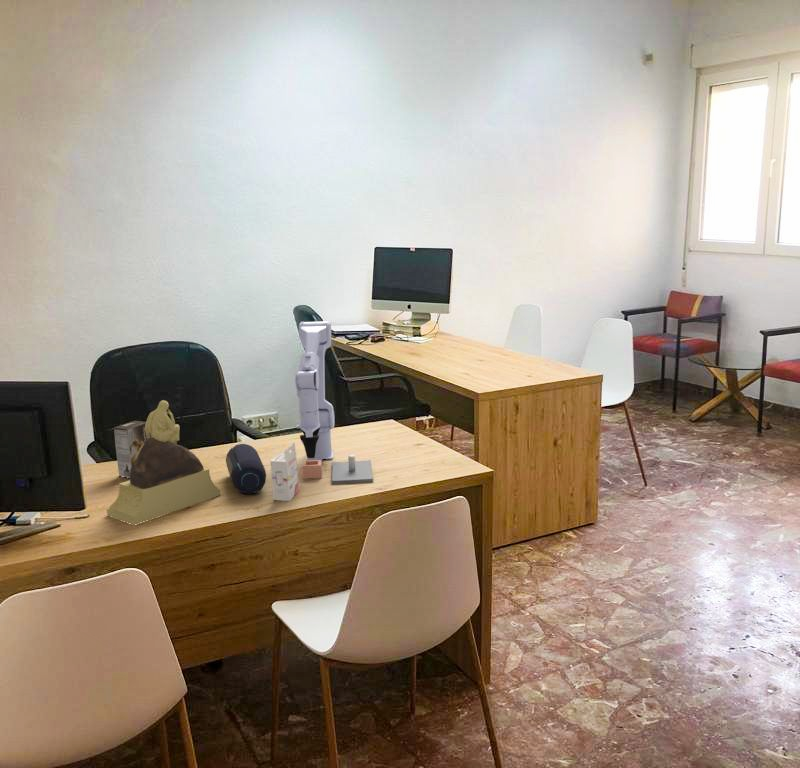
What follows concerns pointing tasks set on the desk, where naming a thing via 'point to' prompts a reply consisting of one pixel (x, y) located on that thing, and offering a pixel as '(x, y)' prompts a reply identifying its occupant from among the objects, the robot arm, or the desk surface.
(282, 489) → the ink cartridge box
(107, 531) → the desk surface
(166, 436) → the seated figure statue
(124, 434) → the coffee box
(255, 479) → the portable speaker
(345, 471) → the post base
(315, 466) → the collar
